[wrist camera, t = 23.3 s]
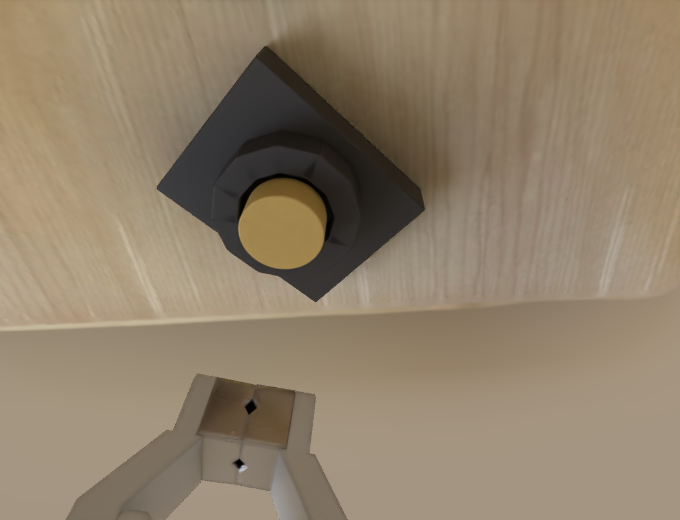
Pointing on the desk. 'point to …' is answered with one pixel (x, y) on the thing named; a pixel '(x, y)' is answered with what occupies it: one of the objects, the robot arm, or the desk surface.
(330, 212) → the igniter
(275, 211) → the button
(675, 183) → the desk surface
